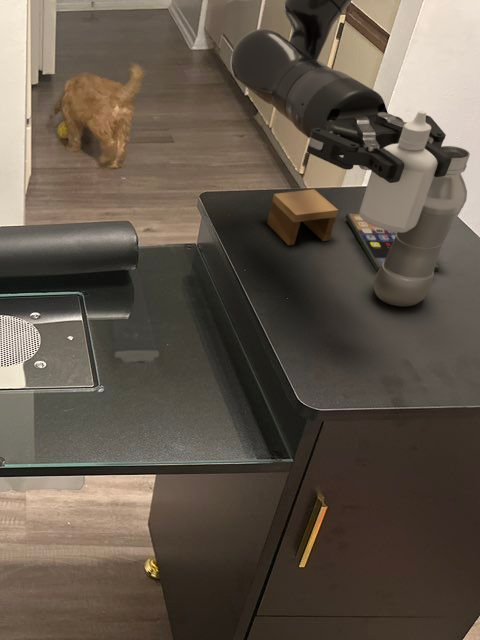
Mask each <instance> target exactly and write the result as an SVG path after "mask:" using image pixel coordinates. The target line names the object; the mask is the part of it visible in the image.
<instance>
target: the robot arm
mask: <svg viewBox="0 0 480 640" xmlns="http://www.w3.org/2000/svg"><path fill="white" fill-rule="evenodd" d="M352 1H353V0H284V3H283V12H284V14H285V16H286V17H287V19H288V21H289V23H290V26H291V34H290V37H289V40H287V39H286V38H285V37H284V36H283V35H281V34H279V32H277V31H275V30H273V29H271V28H258V29H254V30H252V31H250V32H248V33H247V34H245V35H244V36H242V38H241V37H240V39H239V40H238V41H237V43H236V44H235V46H234V48H233V49H232V52H231V56H230V62H229V63H230V65H229V66H230V71H231V74H232V75H233V77H234V79H235V80H236V81H238V82H239V83H240V84H241V85H242V86H244V87H246V88H247V89H248V90H249V91H251V92H252V93H253V94H255V95H256V96H257V97H258V98H259V99H260V100H262V101H263V102H265V103H267V104H269V105H272V106H273V107H274V108H275V110H276V111H277V112H279V113H280V114H281V115H282V116H283V117H284V118H285V119H287V120H289V121H290V122H291V123H292V124H293V126H294V127H295V128H296V129H297V130H298V131H299V132H301V134H303V135H304V136H306V137H307V138H308V139H309V140H308V144H307V148H306V153H307V154H310V155H311V156H314V157H315V158H318V159H321V160H323V161H325V162H326V163H327V162H328V163H329V164H332V165H334V166H336V167H338V168H341V169H343V170H345V171H346V170H348V171H350V170H353V169H354V166H358V167H359V168H360V169H361V170H364V171H373V172H374V173H375V174H377V175H378V176H379V177H381V178H383V179H385V180H386V181H388V182H389V183H395V182H399V180H400V178H401V175H402V172H403V169H404V162H403V161H402V160H401V159H399V158H398V157H396V156H395V155H393V154H392V153H390V152H389V151H387V150H386V149H384V147H386V146H388V145H391V144H398V142H399V139H400V136H401V133H402V130H403V126H404V124H406V123H408V122H409V121H407V122H405V121H404V120H403V118H401V117H400V116H396V115H393V114H391V113H389V112H388V110H387V107H386V104H385V103H386V102H385V100H384V99H383V97H382V96H381V94H380V93H378V92H377V91H375V90H374V89H372V88H371V87H368V86H367V85H365V84H363V83H362V82H361V81H359V80H357V79H355V78H354V77H352V76H350V75H349V74H347V73H344V72H342V71H340V70H336V69H333V68H332V67H330V66H328V65H326V64H325V63H323V62H321V61H320V60H319V58H320V55H321V54H322V51H323V49H324V46H325V44H326V43H327V40H328V38H329V36H330V33H331V31H332V29H333V27H334V25H335V23H336V22H337V21H338V20H339V18H340V16H342V14H343V13H344V12H345V10H346V9H347V8H348V6H349V5H350V4H351V2H352ZM425 122H426V123H427V124H429V125H430V126H431V131H430V134H429V137H428V140H427V143H426V146H425V149H426V150H427V151H429V152H430V153H431V154H432V155H433V156H434V157H435V158H436V160H437V162H438V164H437V168H436V171H435V174H434V176H435V177H443V176H445V175H446V173H447V171H448V168H449V165H450V163H451V159H452V157H451V156H450V155H449V154H447V153H446V152H444V151H442V150H441V149H440V148H441V146H443V143H444V141H445V140H446V136H447V135H446V133H445V131H444V130H442V128H441V127H440V125H438V124H437V122H436V120H434V118H432V116H430V115H428V114H426V121H425Z"/></svg>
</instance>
